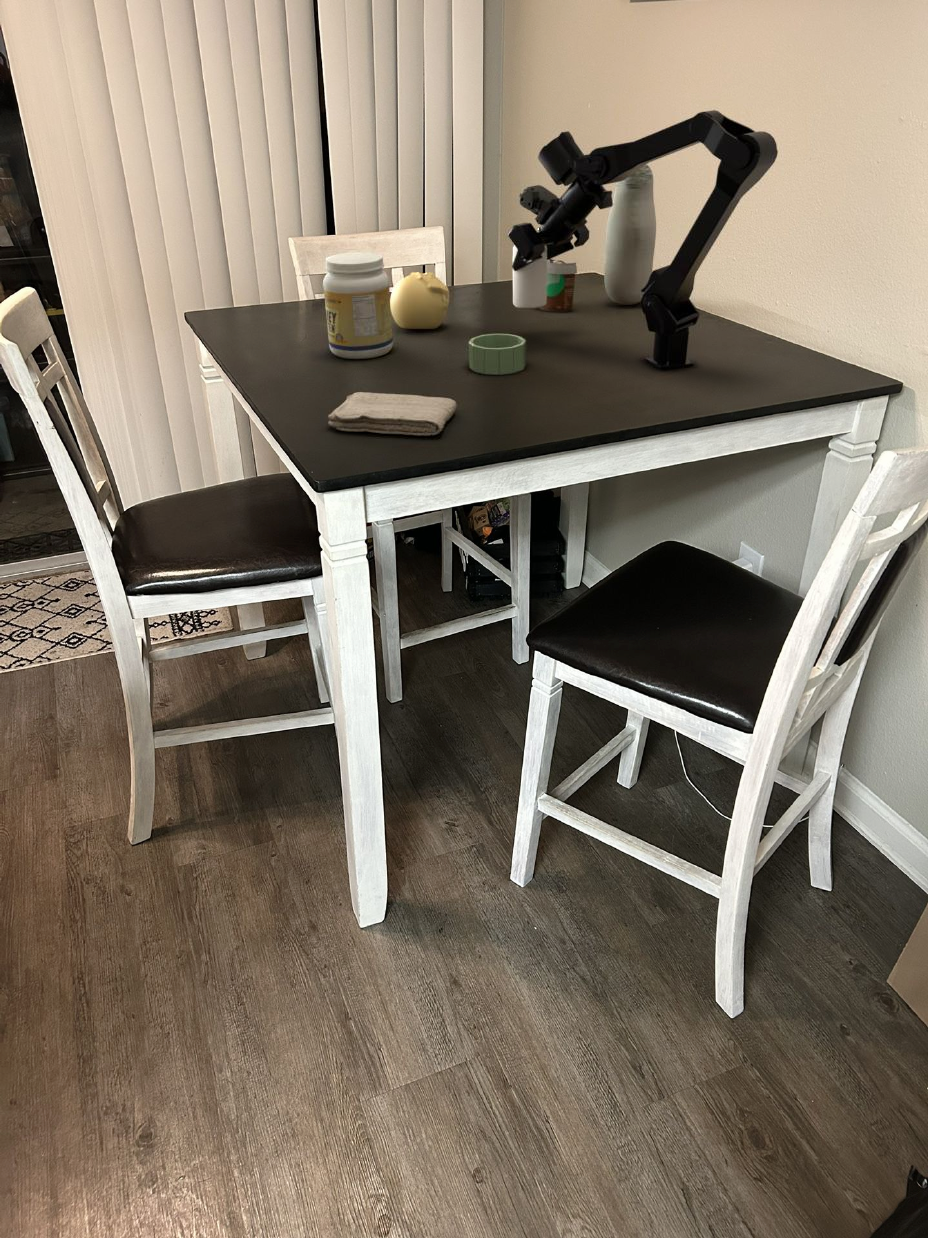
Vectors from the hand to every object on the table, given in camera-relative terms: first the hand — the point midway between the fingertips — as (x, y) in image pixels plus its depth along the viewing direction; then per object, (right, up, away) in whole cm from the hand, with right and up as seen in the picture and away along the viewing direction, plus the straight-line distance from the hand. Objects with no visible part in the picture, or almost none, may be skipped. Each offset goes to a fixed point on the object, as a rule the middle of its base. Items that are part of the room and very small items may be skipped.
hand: (524, 265), depth 174 cm
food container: (+7, 0, +25) cm, 26 cm away
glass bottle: (+24, +2, +27) cm, 36 cm away
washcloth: (-22, -37, -33) cm, 54 cm away
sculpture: (-20, -7, +14) cm, 26 cm away
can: (+1, -7, +3) cm, 7 cm away
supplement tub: (-31, -16, 0) cm, 35 cm away
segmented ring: (-5, -22, -10) cm, 25 cm away
